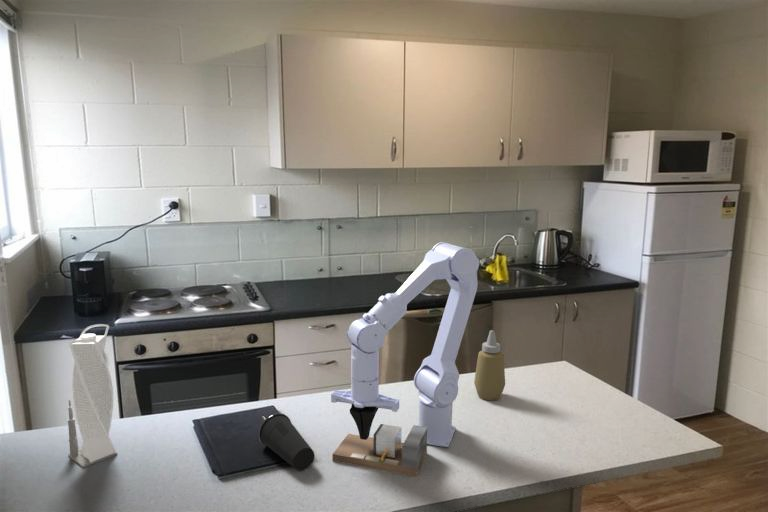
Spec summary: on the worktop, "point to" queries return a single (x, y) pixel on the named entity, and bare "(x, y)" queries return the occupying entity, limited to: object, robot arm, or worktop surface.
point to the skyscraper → (91, 400)
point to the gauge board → (404, 462)
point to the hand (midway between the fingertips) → (364, 437)
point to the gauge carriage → (387, 441)
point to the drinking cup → (286, 441)
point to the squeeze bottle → (490, 370)
